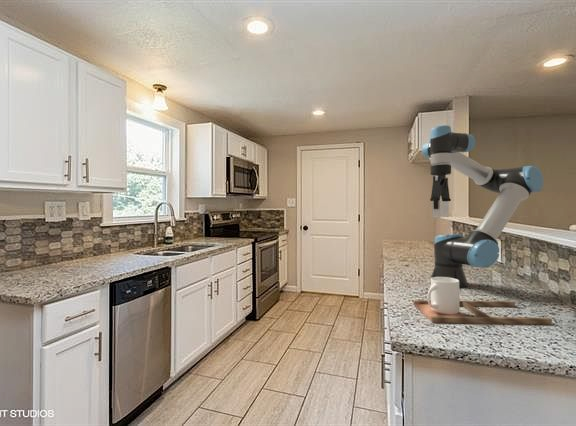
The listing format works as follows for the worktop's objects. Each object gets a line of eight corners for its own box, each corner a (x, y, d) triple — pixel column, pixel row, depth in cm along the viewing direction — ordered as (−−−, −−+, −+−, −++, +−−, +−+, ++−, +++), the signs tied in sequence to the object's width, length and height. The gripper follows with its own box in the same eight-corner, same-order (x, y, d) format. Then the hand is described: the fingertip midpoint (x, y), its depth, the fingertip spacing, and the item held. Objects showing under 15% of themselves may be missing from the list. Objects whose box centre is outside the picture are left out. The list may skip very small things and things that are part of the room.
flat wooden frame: (513, 305, 113) (512, 301, 113) (551, 324, 95) (551, 319, 95) (413, 304, 116) (413, 300, 116) (432, 322, 97) (432, 317, 97)
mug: (417, 310, 107) (417, 279, 107) (443, 305, 112) (443, 275, 112) (438, 318, 99) (438, 284, 99) (465, 313, 104) (465, 280, 104)
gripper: (438, 168, 139) (438, 216, 140) (421, 162, 120) (422, 218, 120) (457, 167, 135) (457, 216, 135) (443, 160, 115) (443, 218, 115)
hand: (441, 217), depth 127 cm, fingers open, 13 cm apart
